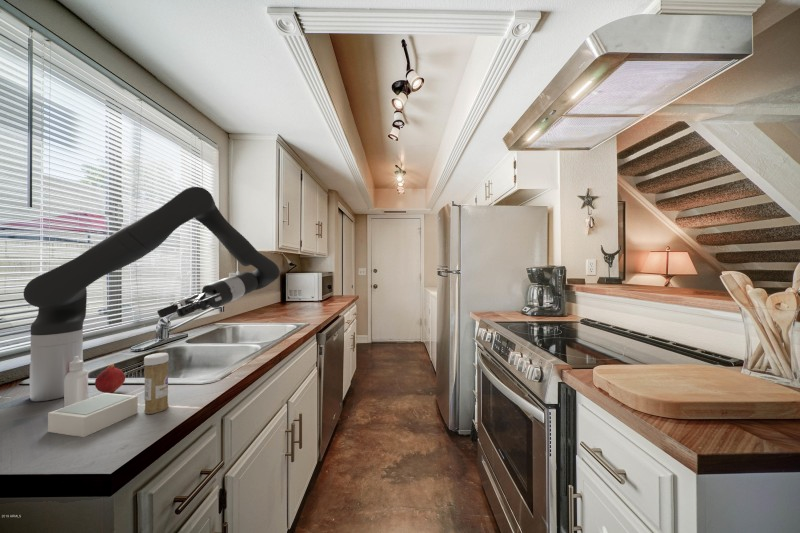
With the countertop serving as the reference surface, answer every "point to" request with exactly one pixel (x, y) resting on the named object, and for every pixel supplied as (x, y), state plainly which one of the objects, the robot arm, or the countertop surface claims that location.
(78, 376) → the eye dropper bottle
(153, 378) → the sprinkles bottle
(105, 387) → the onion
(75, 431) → the block
